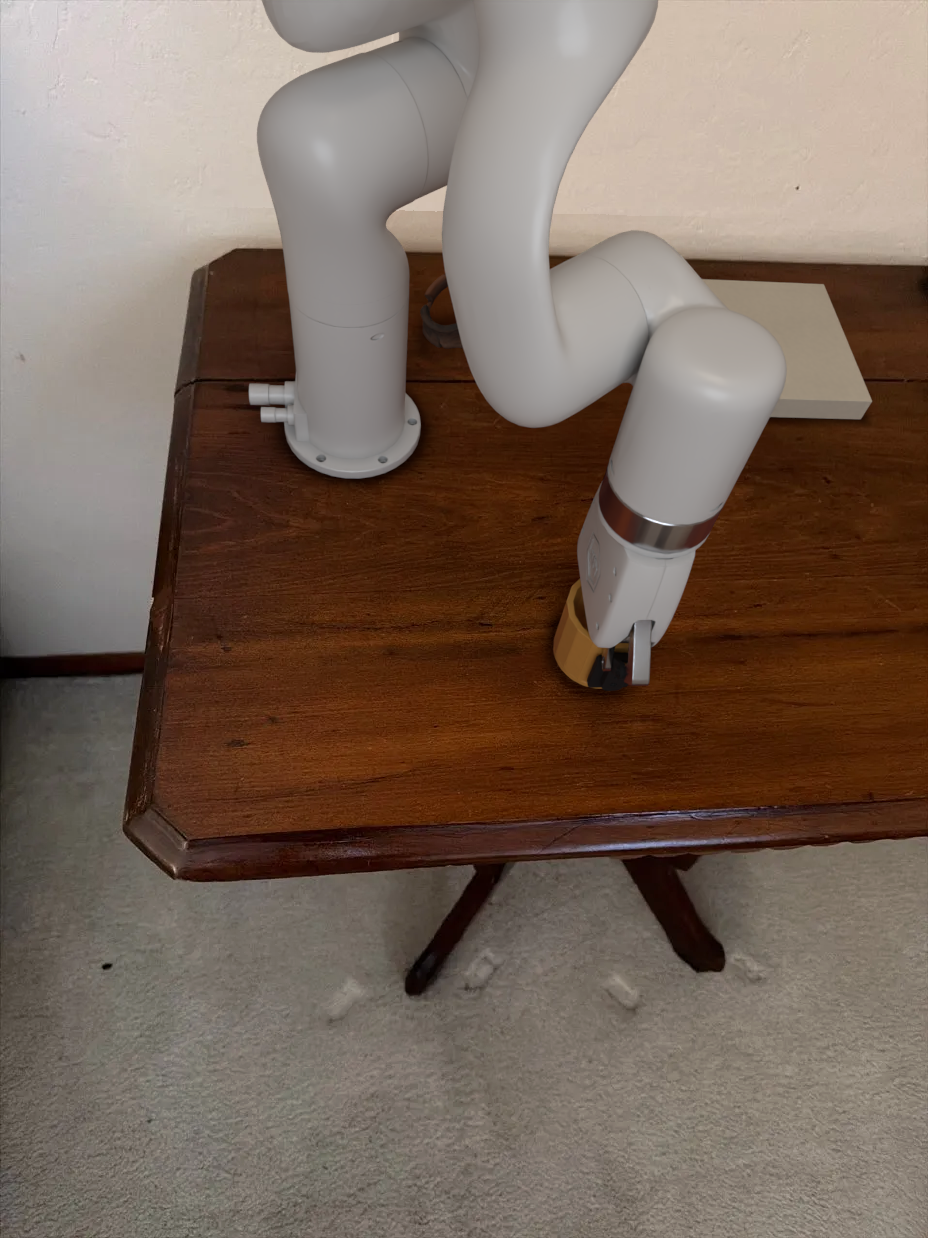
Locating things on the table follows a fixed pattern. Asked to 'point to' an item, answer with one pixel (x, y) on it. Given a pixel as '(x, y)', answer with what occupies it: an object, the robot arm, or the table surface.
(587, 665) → the cup
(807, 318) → the board
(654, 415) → the robot arm
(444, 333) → the brown grey ring-shaped piece
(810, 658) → the table surface
